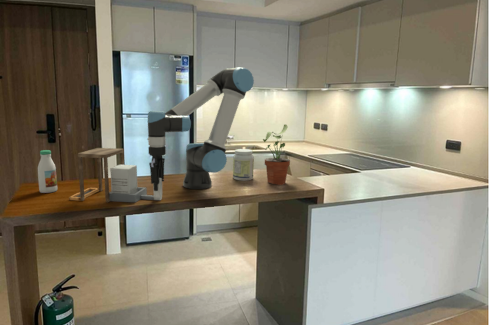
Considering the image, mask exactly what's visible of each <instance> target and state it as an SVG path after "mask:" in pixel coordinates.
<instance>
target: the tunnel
mask: <svg viewBox="0 0 490 325" xmlns="http://www.w3.org/2000/svg"><path fill="white" fill-rule="evenodd" d="M124 153H125V149H124V148H111V147H110V148H108V147H96V148H92V149H89V150H86V151H81V152H78V153H77V166H78V180H79V192H80V198H81V200H80V201H82V202H83V201H86V200H85V199H86V198H85V197H84V190H85V185H84V171H83V170H84V169H83V158H90V159H91V158H92V159H93V158H94V159H95V158H96V160H97V161H96V162H97V179H98V188H99V191H98V192H103V176H104V194H105V195H104V198H105V203H110V202H111V201H109V192H110V186H109V181H110V180H109V161H108V158H111V157H113V156H115V155H120V156H119V158H120V165H125V154H124ZM102 159H103V172H104V173H103V172H102ZM103 174H104V175H103Z"/></svg>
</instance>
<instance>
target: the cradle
mask: <svg viewBox="0 0 490 325" xmlns="http://www.w3.org/2000/svg"><path fill="white" fill-rule="evenodd" d="M159 183H160V198H157V197H154V194H153V195H152V194H147V192H148V191H147V190H148V189H147V187H143V186H142V187H141V186H140V187H139V186H137V187H138V192H137V193H135V194H122V193H112V192H111V191H109V201H110V202H121V203H122V202H123V203H137V202H138V201H141V200H150V201H151V200H152V201H161V200H162V199H163V181H162V178H159Z"/></svg>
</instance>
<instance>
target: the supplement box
mask: <svg viewBox="0 0 490 325" xmlns="http://www.w3.org/2000/svg"><path fill="white" fill-rule="evenodd" d="M137 169H138V168H137V165H135V164H124V165H121V164H117V165H115V166H113V167H110V169H109V170H110V188H111V190H110V192H112V193H122V194H135V193H137V192H138V187H139V186H138V170H137Z"/></svg>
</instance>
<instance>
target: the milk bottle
mask: <svg viewBox="0 0 490 325" xmlns="http://www.w3.org/2000/svg"><path fill="white" fill-rule="evenodd" d="M39 154H40V159H39V162H38V164H37V165H38V166H37V177H38V178H37V179H38V189H39V190H38V191H39V193H40V194H42V193H43V194H45V193H46V194H48V193H55V192H57V191H58V180H57V179H58V178H57V177H58V176H57V170H56V169H57V167H56V164H55V163H54V161H53V159H52V151H51V150H49V149H45V150H44V149H43V150H40V151H39Z"/></svg>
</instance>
